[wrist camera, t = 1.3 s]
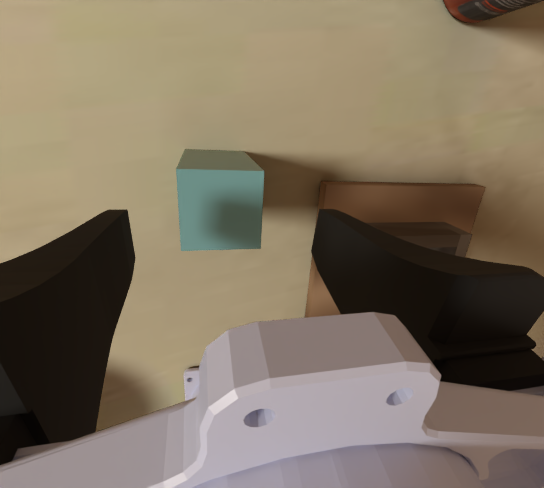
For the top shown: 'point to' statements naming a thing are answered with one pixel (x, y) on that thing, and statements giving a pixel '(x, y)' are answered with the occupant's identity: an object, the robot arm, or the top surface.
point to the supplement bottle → (484, 8)
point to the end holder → (400, 220)
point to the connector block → (219, 200)
